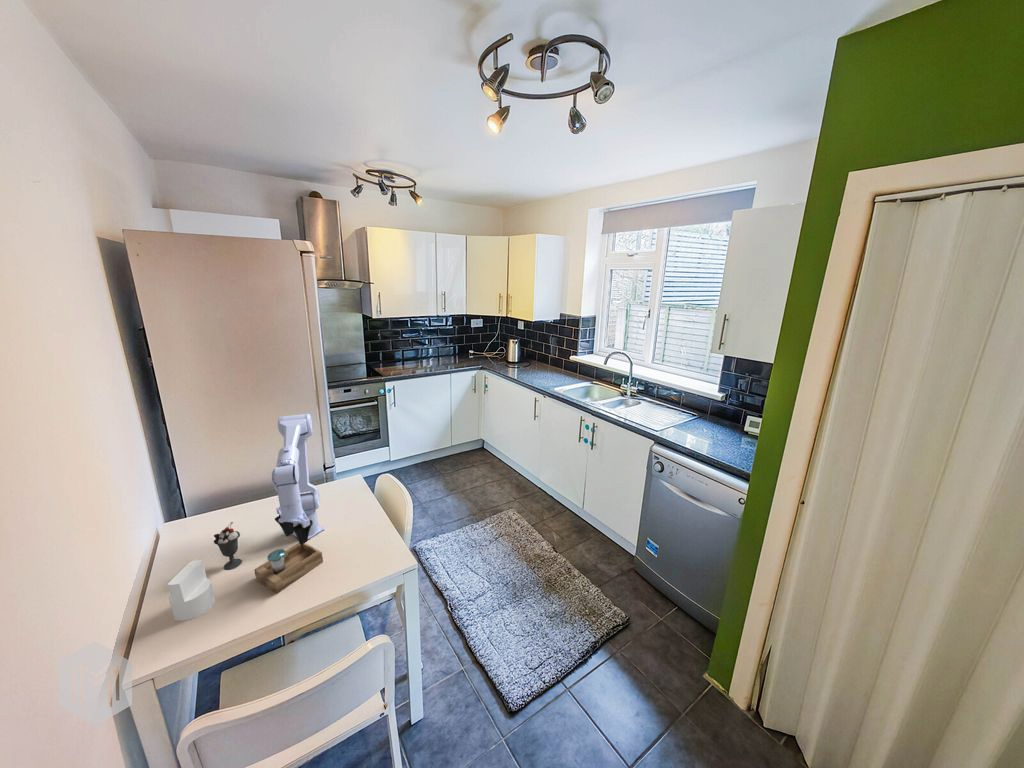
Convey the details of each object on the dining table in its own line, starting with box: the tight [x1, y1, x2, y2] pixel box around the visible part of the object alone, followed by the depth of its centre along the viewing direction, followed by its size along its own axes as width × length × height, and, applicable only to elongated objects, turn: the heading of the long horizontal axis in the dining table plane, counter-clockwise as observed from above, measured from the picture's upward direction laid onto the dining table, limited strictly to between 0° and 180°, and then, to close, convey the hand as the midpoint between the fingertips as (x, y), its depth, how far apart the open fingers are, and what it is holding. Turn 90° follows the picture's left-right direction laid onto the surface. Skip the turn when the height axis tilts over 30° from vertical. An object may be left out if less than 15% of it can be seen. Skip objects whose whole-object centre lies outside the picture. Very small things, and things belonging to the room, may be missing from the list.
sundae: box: [213, 521, 243, 571], centre depth 120 cm, size 7×7×15 cm
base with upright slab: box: [167, 559, 216, 622], centre depth 104 cm, size 9×9×12 cm
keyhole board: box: [253, 542, 324, 594], centre depth 119 cm, size 11×15×4 cm
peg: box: [267, 548, 286, 575], centre depth 115 cm, size 5×5×8 cm
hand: (296, 538), depth 119 cm, fingers open, 7 cm apart
